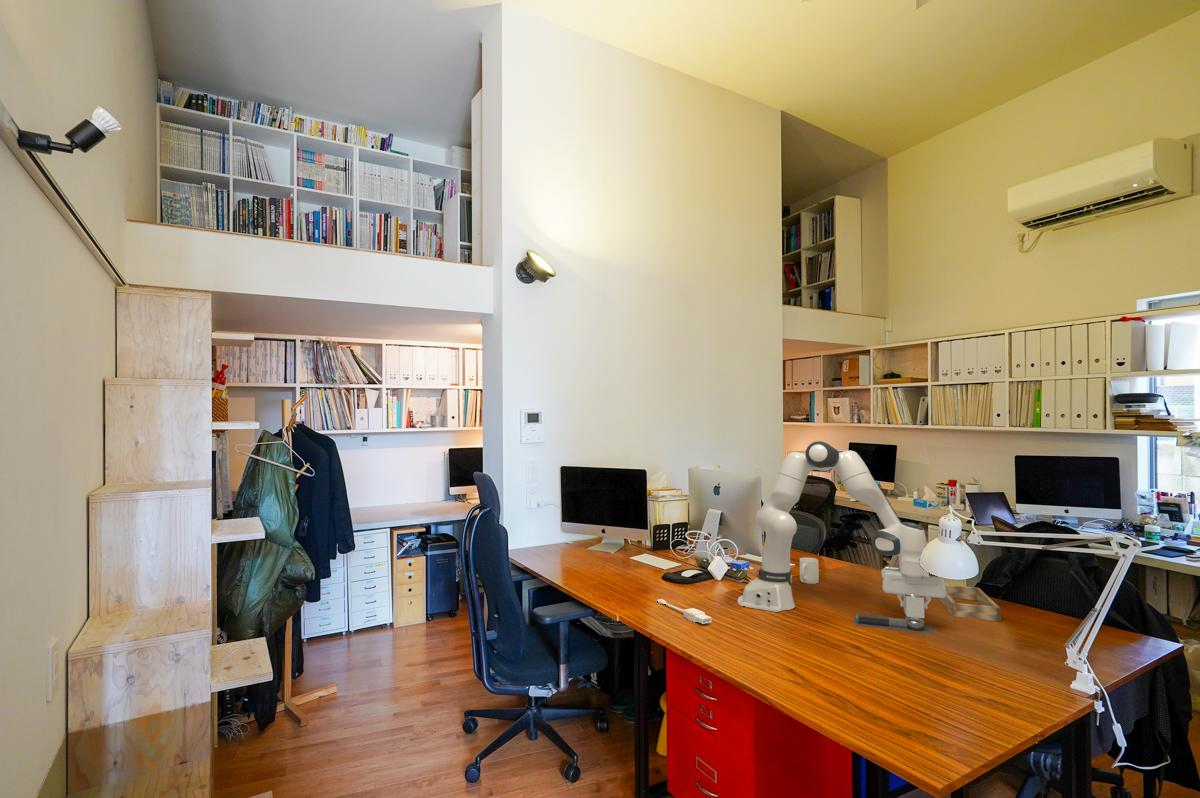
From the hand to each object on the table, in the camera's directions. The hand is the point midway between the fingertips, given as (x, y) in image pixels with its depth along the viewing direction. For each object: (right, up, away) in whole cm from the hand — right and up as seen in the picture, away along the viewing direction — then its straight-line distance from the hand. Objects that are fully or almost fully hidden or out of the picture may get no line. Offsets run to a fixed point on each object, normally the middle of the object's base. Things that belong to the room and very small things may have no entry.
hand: (913, 607), depth 204 cm
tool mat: (-6, -8, +2) cm, 10 cm away
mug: (-16, -11, +61) cm, 64 cm away
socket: (0, -3, 0) cm, 2 cm away
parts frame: (+34, -9, +23) cm, 42 cm away
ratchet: (-8, -7, +2) cm, 11 cm away
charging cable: (-81, -9, +17) cm, 84 cm away
